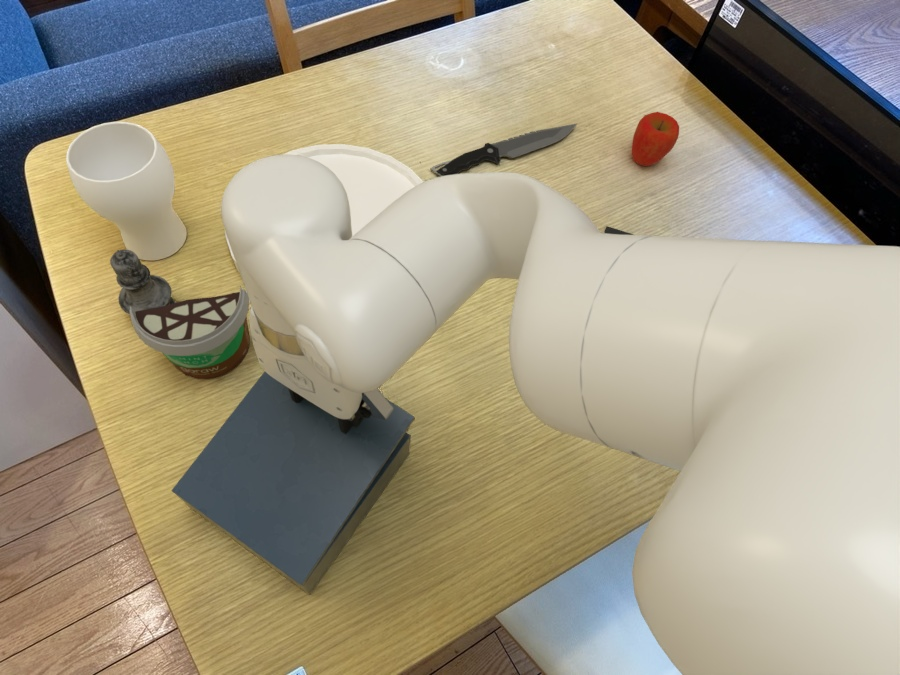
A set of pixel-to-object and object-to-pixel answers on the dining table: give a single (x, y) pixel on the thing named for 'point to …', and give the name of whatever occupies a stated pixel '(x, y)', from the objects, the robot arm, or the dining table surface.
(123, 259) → the chess piece
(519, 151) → the knife
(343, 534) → the dark blue-grey open box
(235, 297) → the food container
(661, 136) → the apple
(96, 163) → the cup
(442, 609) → the dining table surface
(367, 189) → the plate
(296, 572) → the lid
